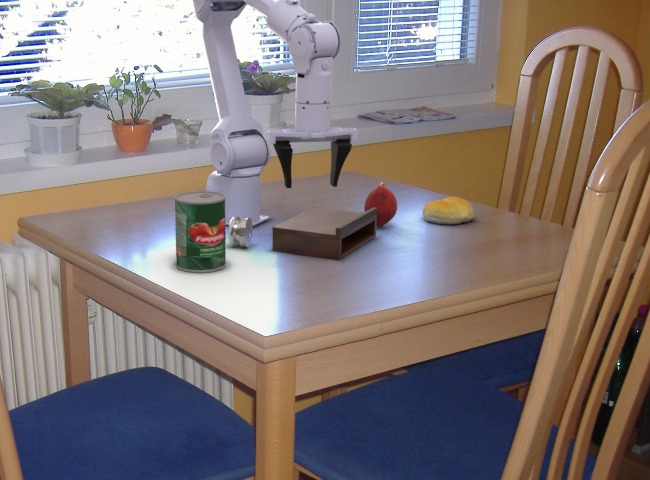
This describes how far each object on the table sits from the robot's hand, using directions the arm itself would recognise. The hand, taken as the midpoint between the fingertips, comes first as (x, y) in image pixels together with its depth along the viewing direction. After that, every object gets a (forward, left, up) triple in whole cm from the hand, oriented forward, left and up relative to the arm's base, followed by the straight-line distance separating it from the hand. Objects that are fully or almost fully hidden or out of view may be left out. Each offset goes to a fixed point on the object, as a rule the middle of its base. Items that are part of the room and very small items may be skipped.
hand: (310, 186), depth 170 cm
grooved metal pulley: (-9, -7, -10) cm, 15 cm away
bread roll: (+16, +27, -10) cm, 33 cm away
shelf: (+3, +1, -10) cm, 10 cm away
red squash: (+7, +16, -10) cm, 20 cm away
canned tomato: (-9, -20, -10) cm, 24 cm away
